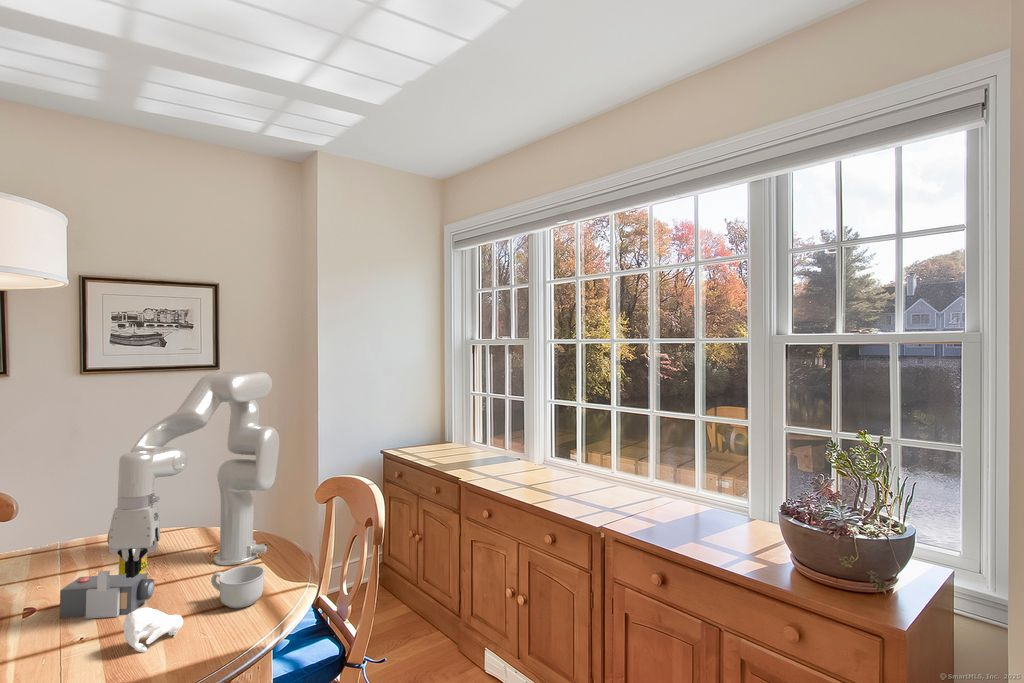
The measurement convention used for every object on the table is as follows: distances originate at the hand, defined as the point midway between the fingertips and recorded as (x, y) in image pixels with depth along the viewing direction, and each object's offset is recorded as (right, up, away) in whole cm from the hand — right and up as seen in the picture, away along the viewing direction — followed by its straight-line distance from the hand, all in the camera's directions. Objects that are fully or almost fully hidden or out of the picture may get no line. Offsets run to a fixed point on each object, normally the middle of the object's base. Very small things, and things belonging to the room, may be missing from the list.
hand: (132, 575), depth 136 cm
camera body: (-9, -10, +4) cm, 14 cm away
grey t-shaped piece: (-7, -10, -1) cm, 12 cm away
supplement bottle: (-13, -11, +19) cm, 26 cm away
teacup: (+22, -11, +8) cm, 26 cm away
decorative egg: (-36, -11, +45) cm, 59 cm away
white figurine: (+13, -11, -12) cm, 20 cm away
